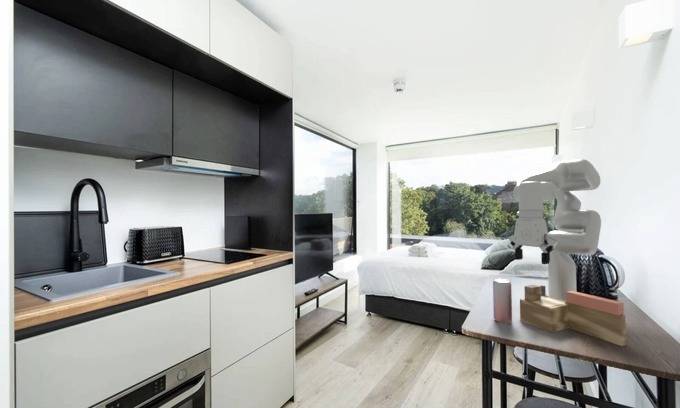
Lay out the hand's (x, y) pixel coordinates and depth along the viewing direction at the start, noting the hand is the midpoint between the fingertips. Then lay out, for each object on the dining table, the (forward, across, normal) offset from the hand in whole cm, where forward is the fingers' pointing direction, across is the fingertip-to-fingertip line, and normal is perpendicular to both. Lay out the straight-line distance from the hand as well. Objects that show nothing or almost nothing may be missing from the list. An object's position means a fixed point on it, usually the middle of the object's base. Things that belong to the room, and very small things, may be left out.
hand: (531, 261), depth 106 cm
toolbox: (+22, +10, +4) cm, 25 cm away
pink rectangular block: (+13, +15, +7) cm, 21 cm away
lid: (+15, +3, +3) cm, 16 cm away
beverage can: (+22, -5, -9) cm, 25 cm away
